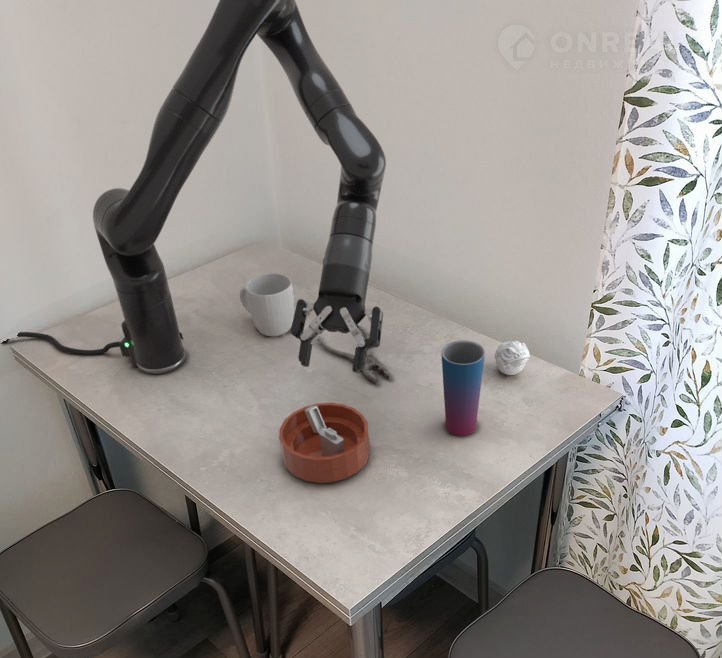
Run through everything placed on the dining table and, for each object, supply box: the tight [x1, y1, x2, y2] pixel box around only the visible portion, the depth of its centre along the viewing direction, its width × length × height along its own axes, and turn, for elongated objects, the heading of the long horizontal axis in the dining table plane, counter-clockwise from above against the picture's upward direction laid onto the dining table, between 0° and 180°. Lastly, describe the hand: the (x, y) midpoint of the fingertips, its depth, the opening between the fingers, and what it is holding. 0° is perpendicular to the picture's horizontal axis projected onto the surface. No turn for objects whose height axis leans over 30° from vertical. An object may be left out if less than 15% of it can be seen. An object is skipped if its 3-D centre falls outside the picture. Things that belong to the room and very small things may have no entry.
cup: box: [440, 339, 486, 437], centre depth 132 cm, size 7×7×15 cm
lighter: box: [305, 405, 345, 457], centre depth 130 cm, size 7×2×8 cm, turn 45°
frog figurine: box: [494, 340, 531, 376], centre depth 145 cm, size 6×7×7 cm
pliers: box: [317, 324, 391, 385], centre depth 154 cm, size 10×1×20 cm
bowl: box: [278, 402, 371, 484], centre depth 131 cm, size 14×14×6 cm
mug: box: [239, 272, 295, 337], centre depth 161 cm, size 13×9×10 cm
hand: (329, 368), depth 128 cm, fingers open, 8 cm apart
